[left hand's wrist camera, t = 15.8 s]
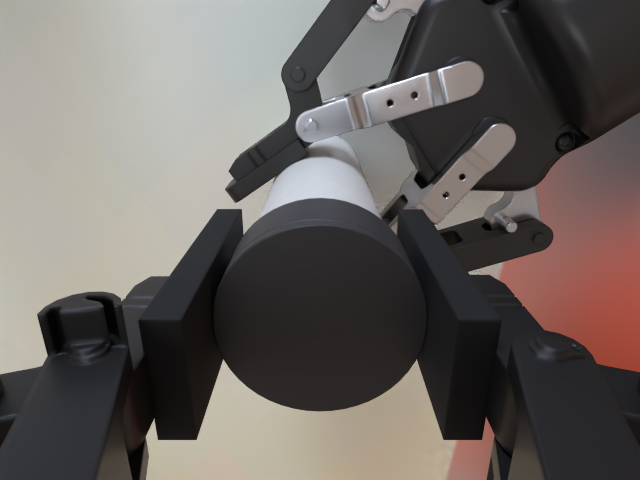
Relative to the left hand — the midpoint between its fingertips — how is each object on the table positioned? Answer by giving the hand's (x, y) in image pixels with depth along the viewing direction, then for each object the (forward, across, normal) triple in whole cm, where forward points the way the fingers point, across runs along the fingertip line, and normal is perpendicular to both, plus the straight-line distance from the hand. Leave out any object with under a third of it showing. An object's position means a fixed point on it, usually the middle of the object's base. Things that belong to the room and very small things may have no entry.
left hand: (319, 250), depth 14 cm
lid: (-4, 0, 0) cm, 4 cm away
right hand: (+5, -2, -2) cm, 6 cm away
